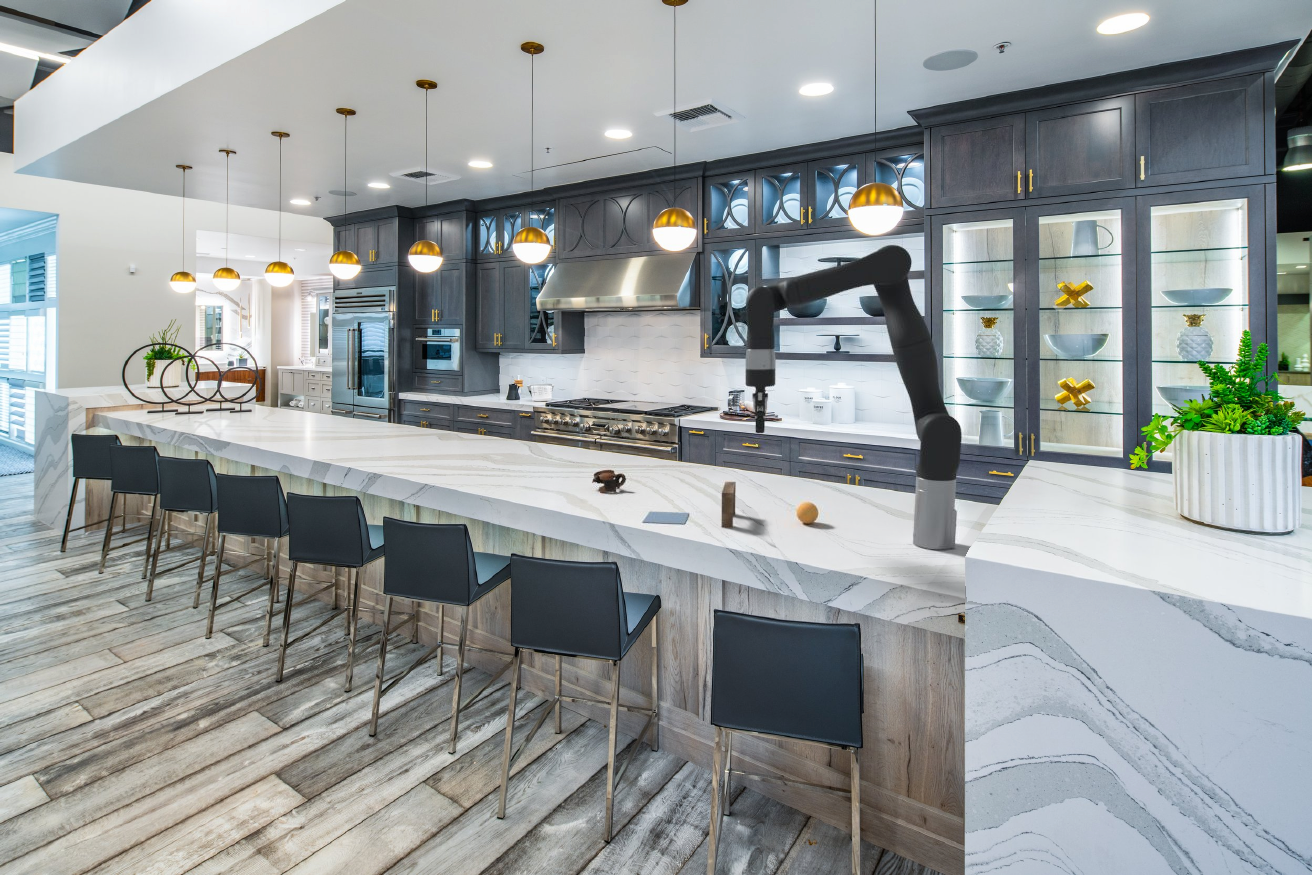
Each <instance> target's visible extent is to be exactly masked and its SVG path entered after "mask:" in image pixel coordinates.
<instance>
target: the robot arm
mask: <svg viewBox="0 0 1312 875" xmlns="http://www.w3.org/2000/svg"><path fill="white" fill-rule="evenodd" d="M912 261H913V260H912V257H911V254H910V253H909V251H908V250H907V249H905V248H904V247H902V246H899V245H896V244H888V245H884V246H883V247H881V248H879V249H878V250H876V251H874V252H872V253H870V254H867V255H865V256H863V257H860V258H858V259H855V260H852V261H849V262H847V263H843V264H840V265H835V266H832V267H828V268H825V269H820V270H815V271H812V272H808V273H805V274H802V275H797V276H794V277H791V278H787V279H786V280H784V281H782V282H778V283H774V284H771V285H767V286H764V285H763V286H761V285H759V286H755V287H754V288H753V287H752V289H751V290H750V291H749V292H748V293H747V295H746V299H745V309H746V310H745V312H746V324H747V328H746V329H747V330H746V355H745V385H746V387H751V388H755V392H752V395H751V396H752V398H751V399H752V402H753V403H752V406H753V407H752V409H753V411H754V418H755V433H756V434H764V433H765V426H766V425H765V423H766V422H765V419H766V415H767V414H766V412H767V410H768V402H769V393H768V392H767V390H766V388H767V387H774V386H775V385H776V352H775V351H776V350H775V348H776V346H775V345H776V344H775V342H776V338H775V334H776V333H775V329H774V328H775V327H774V322H775V321H774V320H775V313H777V312H779V311H782V310H786V309H788V308H794V307H799V306H803V305H806V304H810V303H814V302H816V301H821V300H823V299H826V298H829V297H832V296H834V295H838V294H839V293H843V292H846V291H849V290H853V289H857V288H860V287H866V286H872V285H873V287H874V289H875V291H876V295H877V296H878V299H879V301H880V304H881V308H882V310H883V315H884V318H885V325H886V329H887V334H888V339H889V342H890V345H891V349H892V352H893V356H894V360H895V363H896V365H897V368H898V371H899V374H900V377H901V379H902V381H903V385H904V387H905V389H906V390H905V391H907V395H908V397H909V400H910V404H911V408H912V413H913V414H912V415H913V421H914V426H915V433H916V435H917V436H916V437H917V438H918V440H919V442H920V446H919V447H920V448H919V460H918V463H917V466H916V471H915V472H916V473H915V474H916V475H915V476H916V477H915V492H914V493H915V495H914V496H915V497H914V498H915V499H914V510H913V511H914V513H913V515H914V516H913V533H912V544H913V545H915V546H916V547H919V548H923V549H928V550H949V549H955V548H956V537H957V536H956V534H957V533H956V532H957V518H958V515H957V514H958V511H957V510H956V506H955V505H956V504H955V503H956V490H957V473H958V470H959V467H960V463H961V462H960V461H961V452H962V437H963V436H962V434H963V433H962V427H961V425H960V423H959V421H958V420H957V419H955V417H953V416H951V415H950V414H949V411H948V409H947V406H946V404H945V402H944V398H943V397H942V393H941V389H940V384H939V383H940V382H939V366H938V359H937V353H936V350H935V346H934V343H933V340H932V336H931V333H930V330H929V328H928V325H927V324H926V322H925V320H924V318H923V315H922V314H921V312H920V311H919V309H918V307H917V305H916V304H915V303H916V302H915V300H914V298H913V295H912V290H911V286H910V282H909V276H908V275H909V273H910V271H911V268H912Z"/></svg>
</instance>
